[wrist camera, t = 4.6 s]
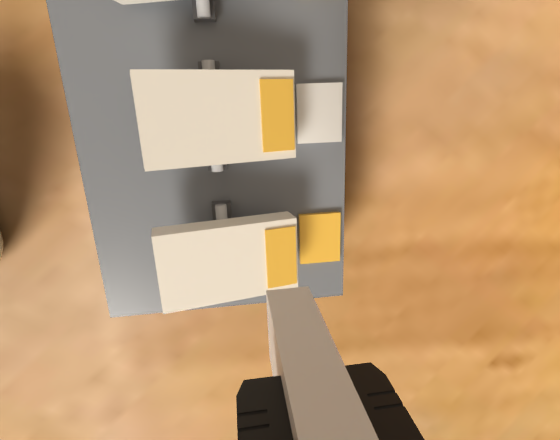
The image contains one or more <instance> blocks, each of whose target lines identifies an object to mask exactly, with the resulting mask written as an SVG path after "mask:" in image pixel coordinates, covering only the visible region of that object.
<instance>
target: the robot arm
mask: <svg viewBox="0 0 560 440" xmlns="http://www.w3.org/2000/svg"><path fill="white" fill-rule="evenodd" d="M266 298H267V317H268V336H269V354H270V362H271V367H272V373H273V376H272V377H265V378H257V379H249V380H244V381H243V383H242V385H241V387H240V389H239V392H238V394H237V396H236V398H237V429H238V440H424V438H423V437H422V435H421V433H420V432H419V430H418V428H417V426H416V425H415V423H414V421H413V420H412V418H411V416H410V415H409V413H408V411H407V410H406V408H405V406H404V407H403V404H402V401H401V400H400V398H399V396H398V395H397V393H395V390H394V388H393V386H392V385H391V383H390V381H389V380H388V378H387V376H386V375H385V374H384V373H383V372H382V371H380V370H379V369H378V368H377V367H376V366H374V365H373V364H372V363H371V362H370V363H363V364H355V365H347V366H345V365H344V363H343V361H342V358H341V356H340V354H339V352H338V350H337V348H336V345H335V343H334V341H333V339H332V337H331V334H330V332H329V330H328V328H327V326H326V324H325V321H324V319H323V317H322V315H321V313H320V311H319V308H318V306H317V304H316V302H315V300H314V297H313V295H312V293H311V291H310V289H309V287H308V286H306V287H296V288H286V289H276V290H266Z"/></svg>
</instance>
